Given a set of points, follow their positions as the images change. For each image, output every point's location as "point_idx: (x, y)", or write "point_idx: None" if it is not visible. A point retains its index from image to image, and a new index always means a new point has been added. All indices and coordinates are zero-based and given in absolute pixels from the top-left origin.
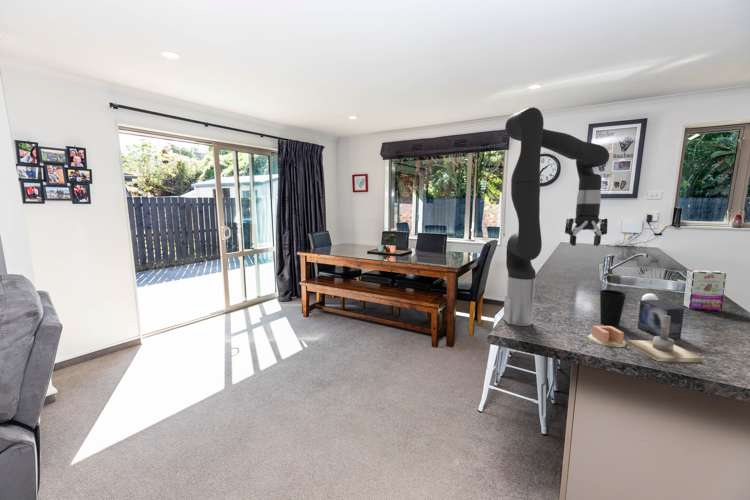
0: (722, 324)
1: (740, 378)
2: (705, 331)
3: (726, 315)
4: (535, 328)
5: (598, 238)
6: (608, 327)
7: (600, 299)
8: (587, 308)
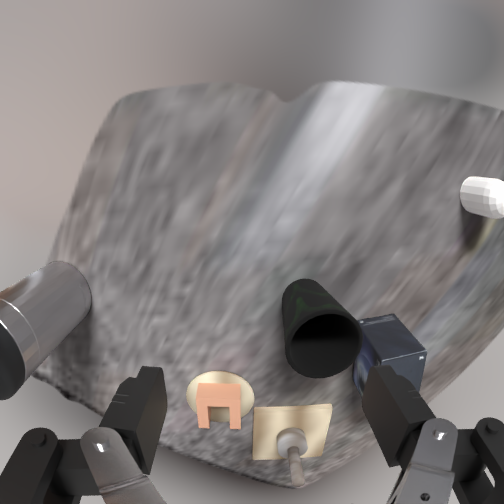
0: None
1: (322, 475)
2: (469, 322)
3: None
4: (92, 332)
5: (389, 449)
6: (227, 406)
7: (287, 322)
8: (336, 145)
